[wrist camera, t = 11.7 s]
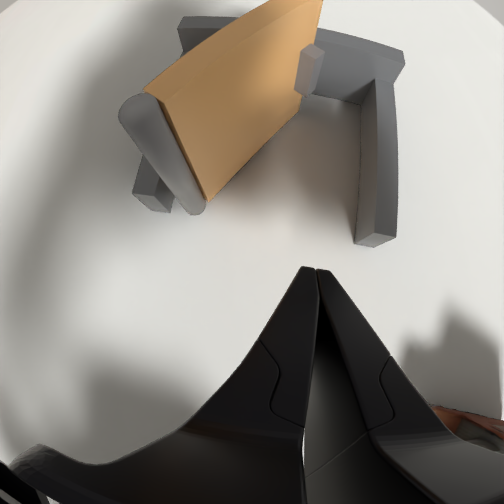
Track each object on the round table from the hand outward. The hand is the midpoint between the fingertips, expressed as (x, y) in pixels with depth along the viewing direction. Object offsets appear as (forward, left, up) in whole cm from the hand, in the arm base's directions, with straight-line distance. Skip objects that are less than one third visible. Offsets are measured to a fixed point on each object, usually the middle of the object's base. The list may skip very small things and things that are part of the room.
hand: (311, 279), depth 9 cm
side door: (+5, +6, -7) cm, 10 cm away
